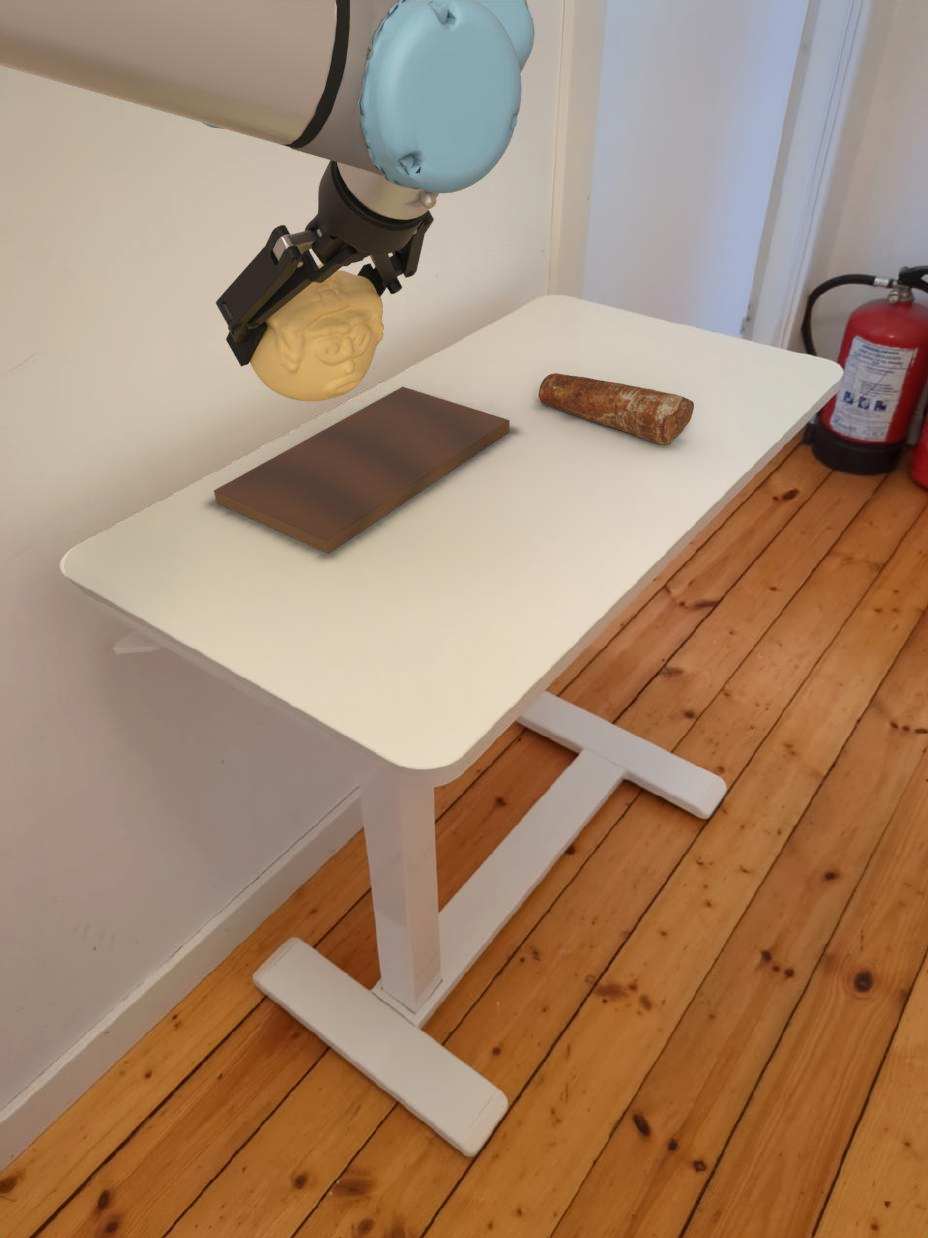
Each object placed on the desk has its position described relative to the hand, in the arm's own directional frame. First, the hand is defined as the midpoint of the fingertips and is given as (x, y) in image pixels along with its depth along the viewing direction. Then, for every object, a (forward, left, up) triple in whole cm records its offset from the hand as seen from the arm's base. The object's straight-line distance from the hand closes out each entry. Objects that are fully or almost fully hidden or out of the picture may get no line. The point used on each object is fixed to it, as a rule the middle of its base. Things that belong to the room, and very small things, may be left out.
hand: (295, 333), depth 82 cm
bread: (+34, +7, -18) cm, 39 cm away
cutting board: (+6, +5, -17) cm, 19 cm away
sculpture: (+1, -2, -4) cm, 5 cm away
